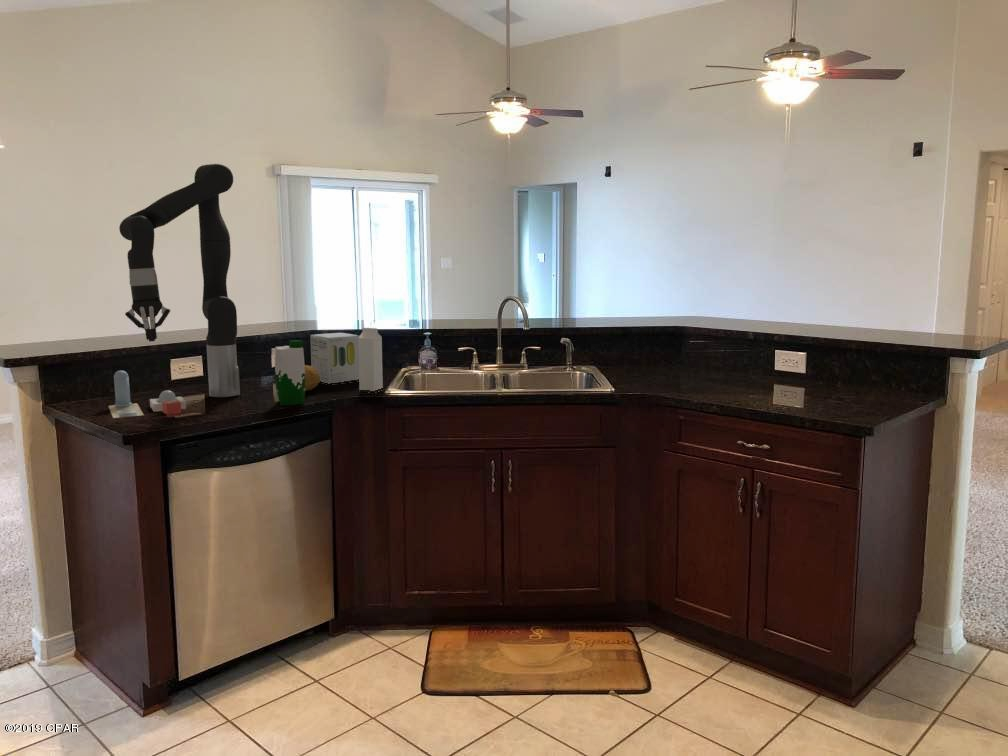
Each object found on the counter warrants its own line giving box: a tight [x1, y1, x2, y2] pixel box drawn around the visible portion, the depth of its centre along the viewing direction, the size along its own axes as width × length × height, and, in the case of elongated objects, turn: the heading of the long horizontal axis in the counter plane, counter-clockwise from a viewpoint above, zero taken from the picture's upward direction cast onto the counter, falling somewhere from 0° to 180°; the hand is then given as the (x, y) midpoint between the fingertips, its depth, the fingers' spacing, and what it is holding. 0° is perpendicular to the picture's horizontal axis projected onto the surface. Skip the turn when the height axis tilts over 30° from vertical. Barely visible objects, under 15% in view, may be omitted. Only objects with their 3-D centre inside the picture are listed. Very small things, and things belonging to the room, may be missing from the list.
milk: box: [358, 327, 384, 391], centre depth 264 cm, size 6×6×22 cm
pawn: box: [113, 370, 133, 407], centre depth 232 cm, size 5×5×11 cm
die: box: [162, 400, 182, 418], centre depth 224 cm, size 4×4×4 cm
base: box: [149, 396, 187, 413], centre depth 231 cm, size 9×9×3 cm
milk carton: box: [274, 339, 306, 406], centre depth 242 cm, size 9×9×20 cm
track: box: [108, 403, 145, 421], centre depth 227 cm, size 8×20×1 cm, turn 31°
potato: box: [305, 364, 320, 392], centre depth 263 cm, size 10×13×9 cm
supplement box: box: [309, 332, 359, 384], centre depth 284 cm, size 13×13×18 cm
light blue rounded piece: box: [157, 389, 177, 403], centre depth 231 cm, size 5×5×6 cm
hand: (152, 341), depth 232 cm, fingers closed
